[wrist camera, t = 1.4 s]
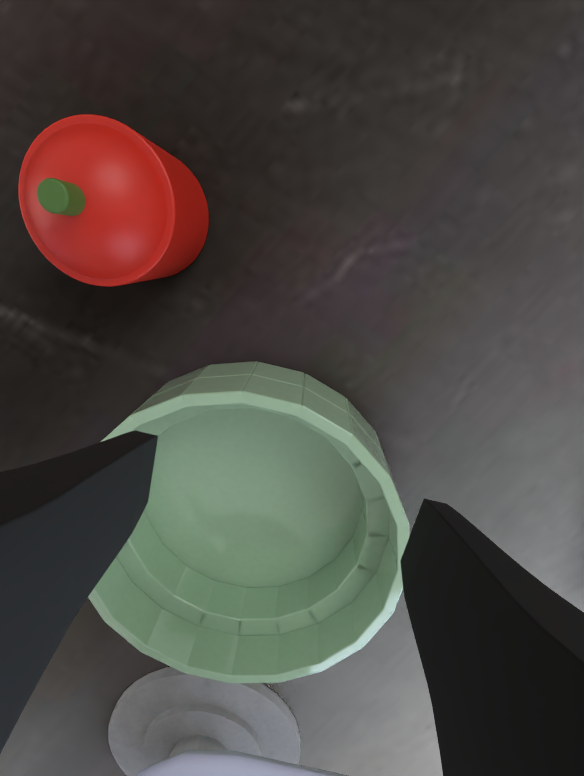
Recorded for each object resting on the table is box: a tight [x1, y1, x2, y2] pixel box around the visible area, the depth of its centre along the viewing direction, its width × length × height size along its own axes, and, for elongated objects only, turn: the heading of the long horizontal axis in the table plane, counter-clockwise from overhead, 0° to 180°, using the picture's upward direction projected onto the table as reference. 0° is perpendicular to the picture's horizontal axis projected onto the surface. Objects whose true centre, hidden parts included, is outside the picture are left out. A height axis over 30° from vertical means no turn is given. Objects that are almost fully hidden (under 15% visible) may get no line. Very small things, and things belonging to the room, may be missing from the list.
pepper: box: [19, 114, 209, 287], centre depth 15 cm, size 5×5×7 cm
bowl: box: [88, 361, 410, 684], centre depth 20 cm, size 14×14×5 cm
